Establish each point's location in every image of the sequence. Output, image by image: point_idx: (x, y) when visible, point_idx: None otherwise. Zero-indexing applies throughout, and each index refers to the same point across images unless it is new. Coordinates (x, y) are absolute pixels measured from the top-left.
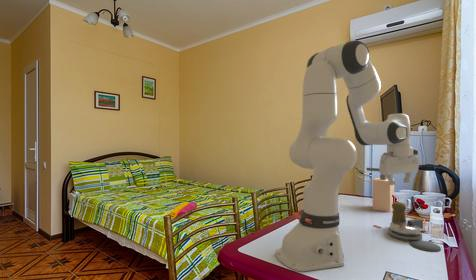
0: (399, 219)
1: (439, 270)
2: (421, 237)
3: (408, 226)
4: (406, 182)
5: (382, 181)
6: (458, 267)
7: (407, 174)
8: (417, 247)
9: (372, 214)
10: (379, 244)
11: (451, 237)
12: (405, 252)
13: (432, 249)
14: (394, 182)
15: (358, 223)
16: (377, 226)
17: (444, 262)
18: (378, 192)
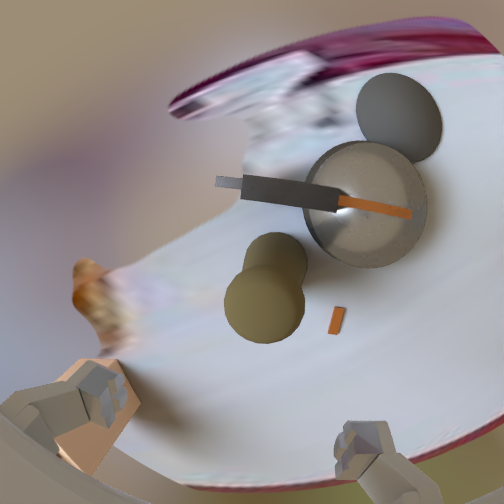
0: (298, 265)
1: (498, 66)
2: (355, 141)
3: (364, 193)
4: (121, 381)
5: (68, 451)
6: (453, 33)
7: (48, 430)
8: (441, 127)
9: (195, 390)
10: (489, 223)
11: (211, 95)
12: (486, 146)
13: (417, 89)
14: (360, 438)
15: (349, 374)
16: (339, 319)
17: (458, 57)
18: (101, 431)
